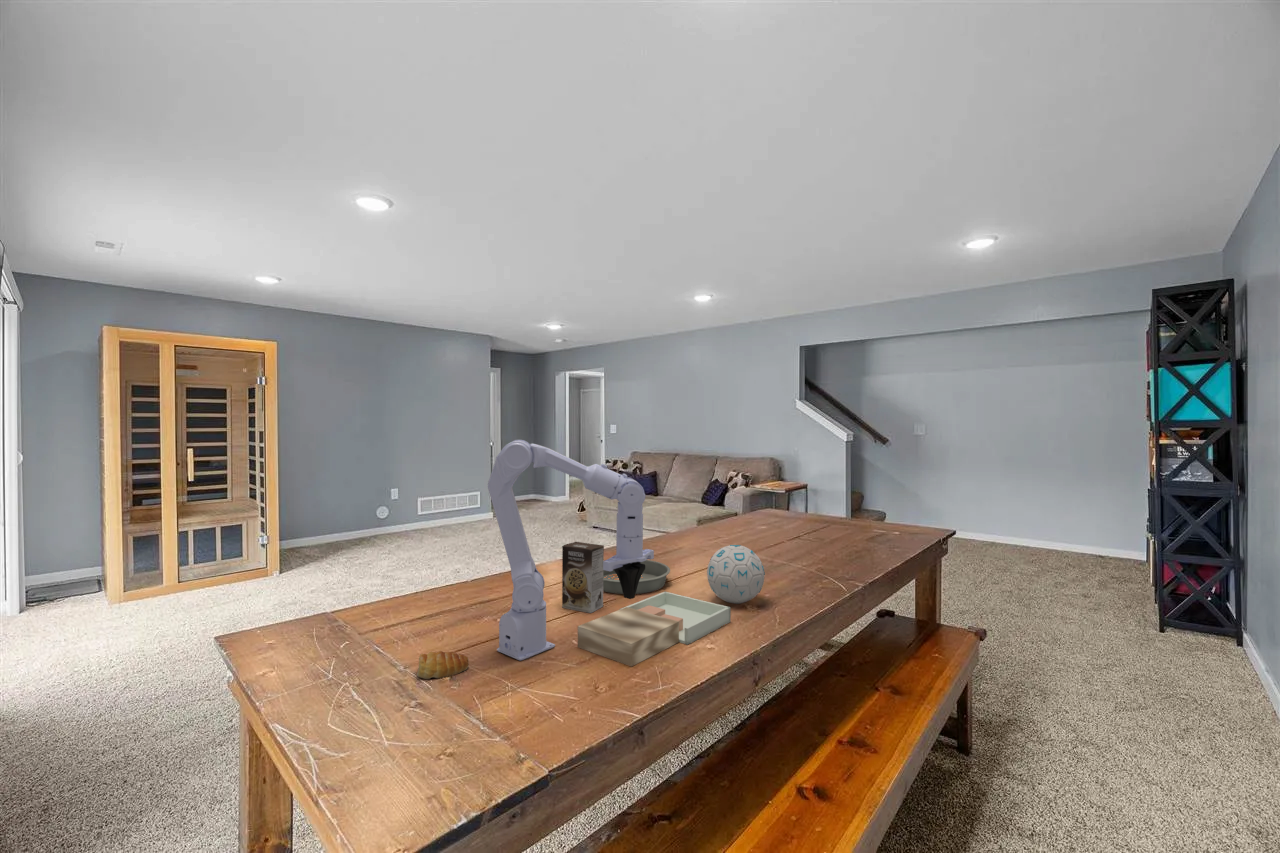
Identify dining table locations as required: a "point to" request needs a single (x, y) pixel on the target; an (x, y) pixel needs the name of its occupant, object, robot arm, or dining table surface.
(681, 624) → the tile near
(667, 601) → the tray
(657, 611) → the tile far
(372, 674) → the dining table surface
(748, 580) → the puzzle ball
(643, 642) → the block
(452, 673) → the pastry
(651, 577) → the cake pan
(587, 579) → the coffee box
